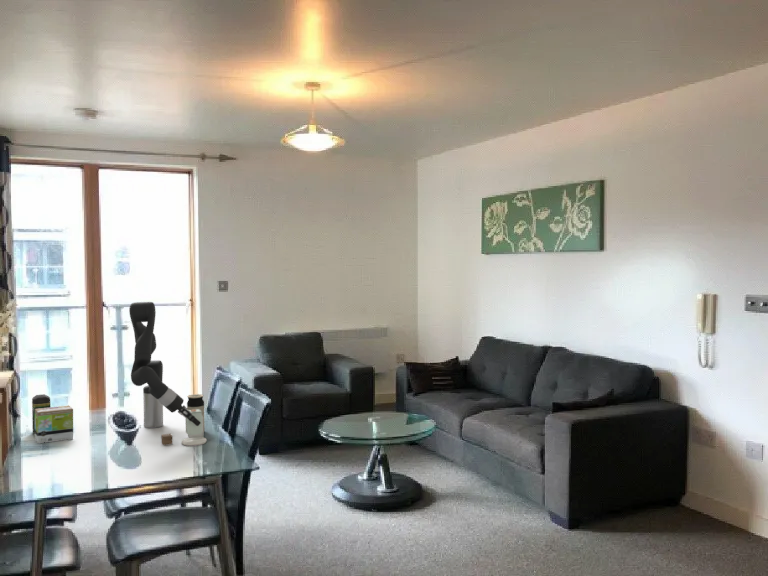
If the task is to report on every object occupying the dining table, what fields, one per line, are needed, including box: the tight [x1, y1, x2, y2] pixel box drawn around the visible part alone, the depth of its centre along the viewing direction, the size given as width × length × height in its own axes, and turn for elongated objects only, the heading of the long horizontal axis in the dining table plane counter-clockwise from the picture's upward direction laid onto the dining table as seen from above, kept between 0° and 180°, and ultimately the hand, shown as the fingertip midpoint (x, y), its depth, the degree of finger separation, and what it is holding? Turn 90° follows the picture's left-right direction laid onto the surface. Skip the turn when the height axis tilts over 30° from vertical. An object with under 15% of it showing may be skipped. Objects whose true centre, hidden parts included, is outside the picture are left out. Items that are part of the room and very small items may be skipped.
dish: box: [180, 437, 207, 447], centre depth 298 cm, size 11×11×1 cm
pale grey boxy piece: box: [185, 409, 202, 436], centre depth 298 cm, size 6×6×10 cm
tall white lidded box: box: [187, 416, 205, 438], centre depth 309 cm, size 6×6×10 cm
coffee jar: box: [31, 394, 52, 435], centre depth 319 cm, size 10×8×19 cm
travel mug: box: [186, 393, 206, 432], centre depth 317 cm, size 8×8×18 cm
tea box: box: [34, 404, 74, 444], centre depth 306 cm, size 15×10×15 cm, turn 126°
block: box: [161, 433, 173, 446], centre depth 297 cm, size 4×4×4 cm
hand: (197, 423), depth 299 cm, fingers closed on pale grey boxy piece, 6 cm apart
